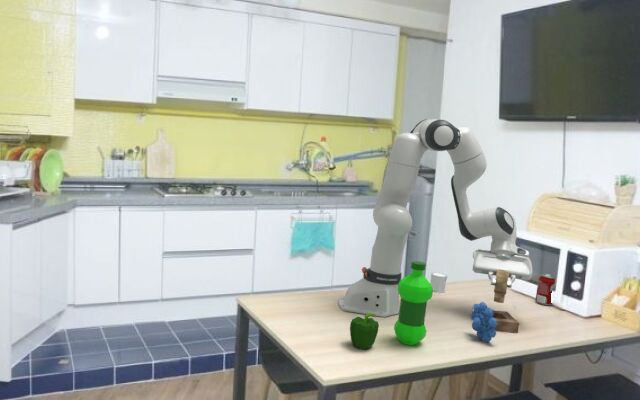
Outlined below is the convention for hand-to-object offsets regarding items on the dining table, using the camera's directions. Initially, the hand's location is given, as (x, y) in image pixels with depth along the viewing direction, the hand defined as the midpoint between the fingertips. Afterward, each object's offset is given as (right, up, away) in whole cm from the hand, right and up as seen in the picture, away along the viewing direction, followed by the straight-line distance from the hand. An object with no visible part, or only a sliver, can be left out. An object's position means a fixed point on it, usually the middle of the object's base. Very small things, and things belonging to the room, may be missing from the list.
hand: (501, 285), depth 191 cm
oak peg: (0, -6, +1) cm, 6 cm away
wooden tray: (-1, -14, +2) cm, 15 cm away
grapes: (-12, -16, -14) cm, 24 cm away
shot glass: (-14, -9, +40) cm, 43 cm away
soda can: (+30, -14, +37) cm, 49 cm away
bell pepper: (-51, -13, -30) cm, 60 cm away
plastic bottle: (-36, -14, -22) cm, 45 cm away
